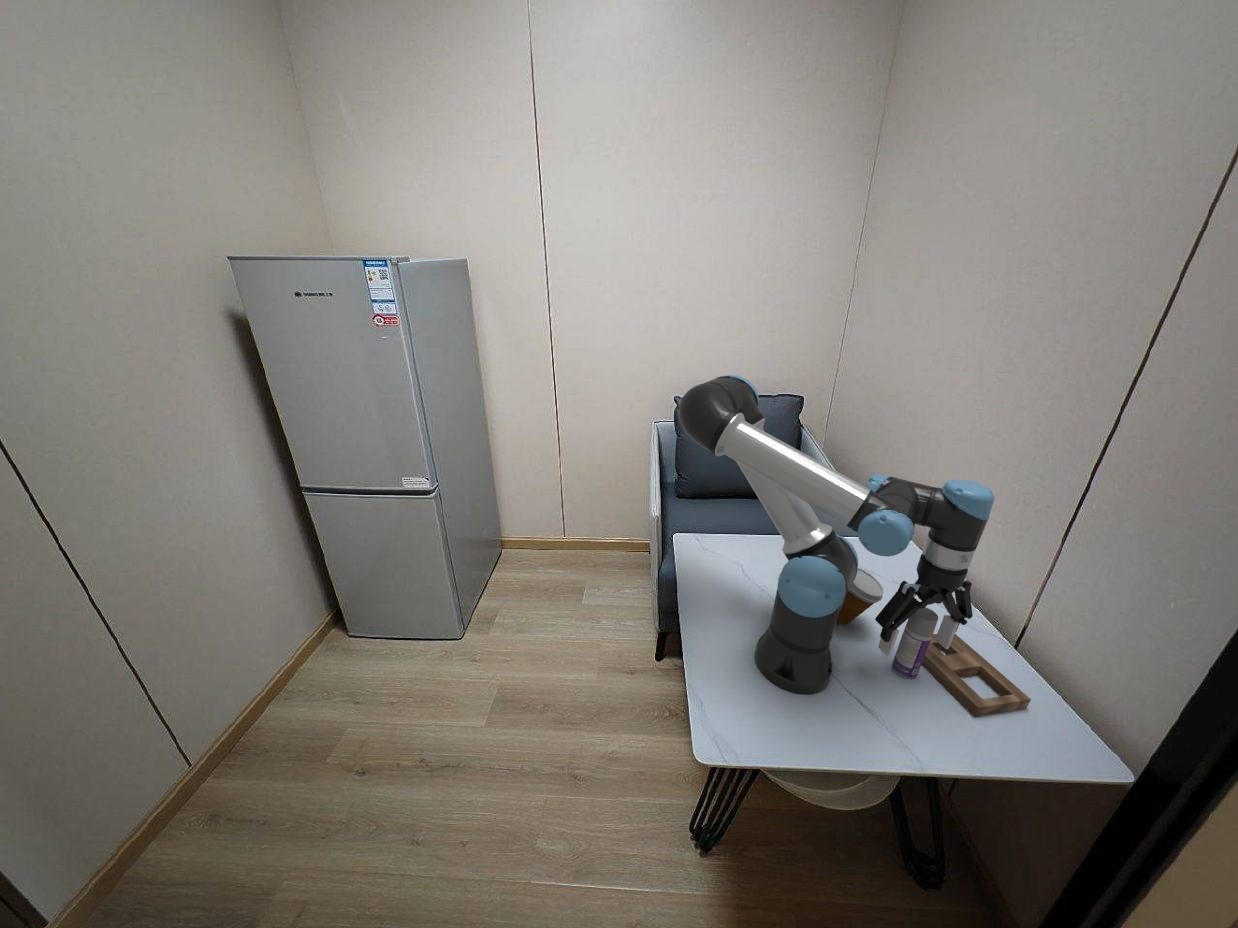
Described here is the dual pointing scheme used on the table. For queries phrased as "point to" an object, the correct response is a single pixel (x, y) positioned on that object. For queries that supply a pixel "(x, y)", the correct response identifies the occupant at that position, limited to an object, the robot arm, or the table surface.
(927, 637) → the container
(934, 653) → the socket board
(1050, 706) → the table surface
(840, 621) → the disposable coffee cup
